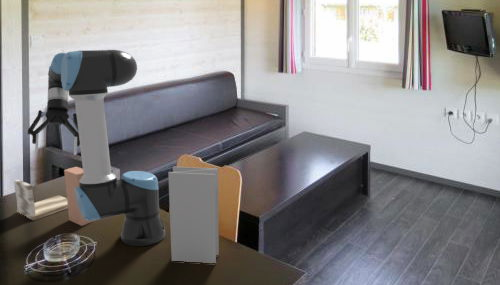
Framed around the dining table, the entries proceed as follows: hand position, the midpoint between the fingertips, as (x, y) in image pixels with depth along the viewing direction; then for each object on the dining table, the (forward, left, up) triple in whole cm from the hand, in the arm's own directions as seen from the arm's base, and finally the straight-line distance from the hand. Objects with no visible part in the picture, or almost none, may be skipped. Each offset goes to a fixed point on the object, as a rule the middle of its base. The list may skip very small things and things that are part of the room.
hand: (56, 152), depth 177 cm
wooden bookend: (+8, +2, -24) cm, 26 cm away
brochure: (-65, -6, -25) cm, 70 cm away
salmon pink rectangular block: (-12, 0, -25) cm, 27 cm away
